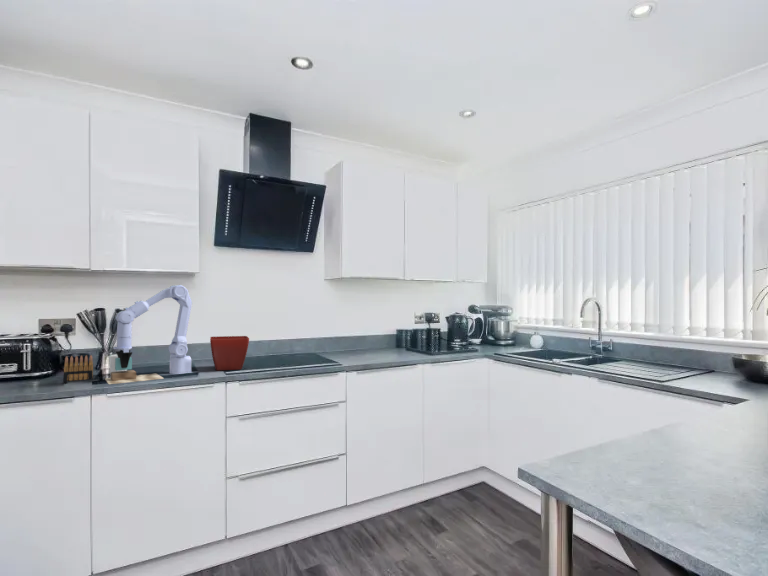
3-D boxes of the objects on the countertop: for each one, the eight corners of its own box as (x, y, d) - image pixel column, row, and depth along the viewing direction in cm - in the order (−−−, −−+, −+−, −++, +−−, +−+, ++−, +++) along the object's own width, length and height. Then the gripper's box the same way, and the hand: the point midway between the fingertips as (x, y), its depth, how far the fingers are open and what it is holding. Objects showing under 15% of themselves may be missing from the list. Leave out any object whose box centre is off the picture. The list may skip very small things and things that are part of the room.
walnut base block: (133, 376, 191) (133, 370, 191) (136, 378, 185) (136, 372, 185) (110, 378, 185) (110, 372, 185) (112, 381, 180) (112, 374, 180)
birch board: (156, 375, 199) (156, 373, 199) (164, 380, 186) (164, 378, 186) (104, 380, 186) (104, 378, 186) (108, 386, 173) (108, 384, 173)
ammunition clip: (93, 380, 185) (93, 354, 186) (92, 381, 184) (93, 354, 184) (63, 383, 180) (64, 355, 181) (62, 383, 179) (63, 356, 179)
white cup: (124, 373, 204) (125, 353, 204) (130, 375, 199) (131, 354, 199) (106, 375, 198) (106, 355, 198) (112, 377, 193) (112, 356, 193)
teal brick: (130, 367, 189) (130, 357, 189) (131, 369, 186) (132, 358, 186) (115, 369, 185) (115, 358, 185) (116, 370, 182) (116, 359, 182)
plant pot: (246, 365, 233) (246, 335, 233) (249, 370, 215) (249, 338, 216) (209, 367, 225) (210, 336, 226) (209, 372, 208) (210, 339, 208)
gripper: (111, 336, 189) (111, 366, 188) (115, 338, 178) (115, 370, 177) (129, 335, 193) (129, 364, 193) (134, 337, 182) (133, 368, 182)
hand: (123, 367), depth 185 cm, fingers closed on teal brick, 4 cm apart
